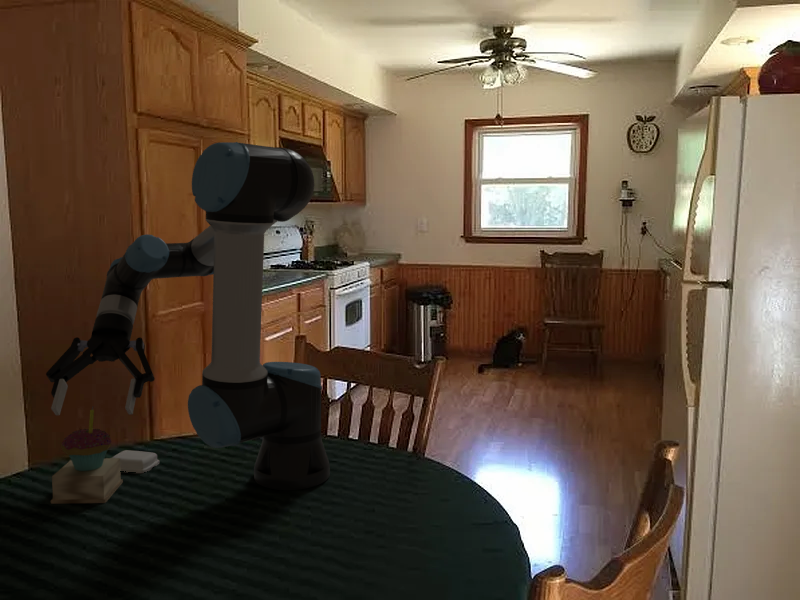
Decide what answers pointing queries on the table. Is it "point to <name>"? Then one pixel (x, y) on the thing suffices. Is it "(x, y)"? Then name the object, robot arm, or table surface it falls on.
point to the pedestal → (86, 483)
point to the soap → (137, 461)
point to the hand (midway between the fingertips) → (92, 411)
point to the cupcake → (87, 447)
